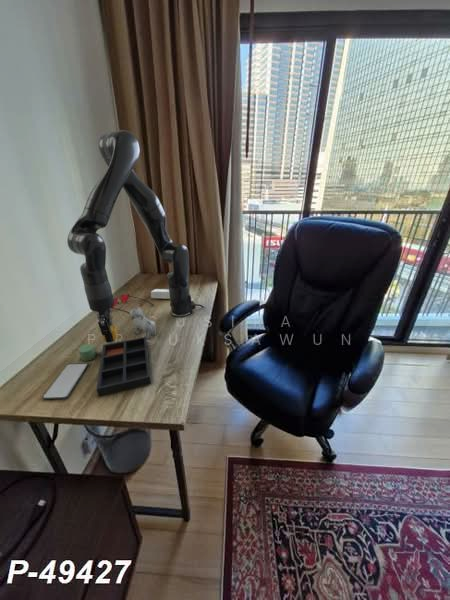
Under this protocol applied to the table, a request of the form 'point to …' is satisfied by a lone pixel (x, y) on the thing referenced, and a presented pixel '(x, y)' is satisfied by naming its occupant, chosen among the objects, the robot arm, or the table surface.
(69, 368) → the smartphone
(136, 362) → the grid
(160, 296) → the white box
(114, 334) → the ochre token
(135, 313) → the dog figurine
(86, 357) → the green short cylinder
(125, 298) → the glasses
